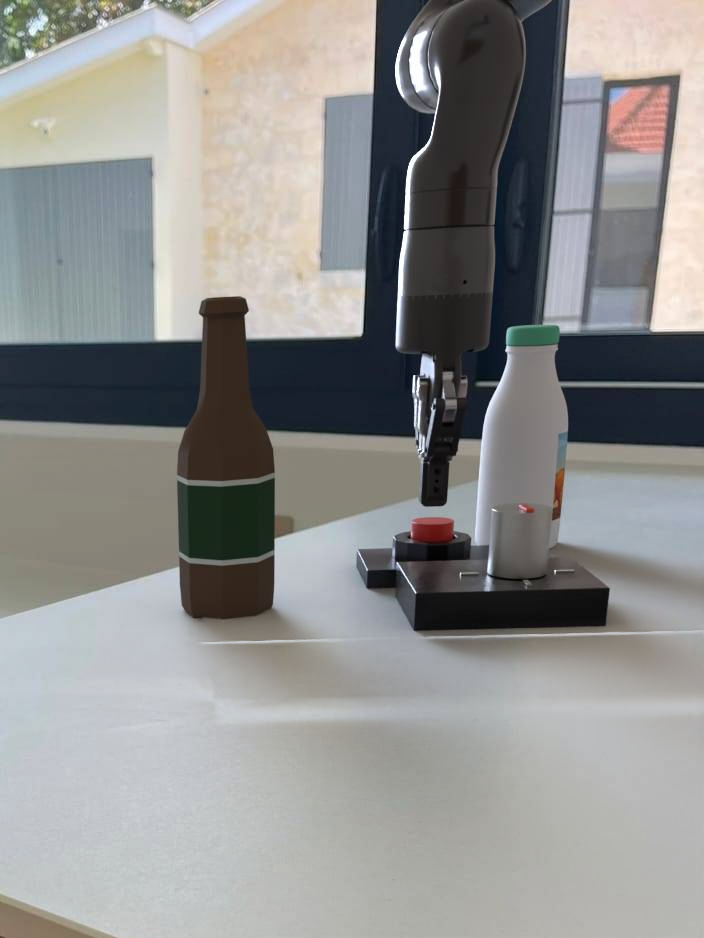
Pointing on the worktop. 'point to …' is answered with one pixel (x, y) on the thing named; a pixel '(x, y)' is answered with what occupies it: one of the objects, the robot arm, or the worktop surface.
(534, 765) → the worktop surface
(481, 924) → the worktop surface
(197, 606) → the beer bottle
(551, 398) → the milk bottle
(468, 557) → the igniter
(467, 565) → the panel
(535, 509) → the burner knob
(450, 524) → the button
